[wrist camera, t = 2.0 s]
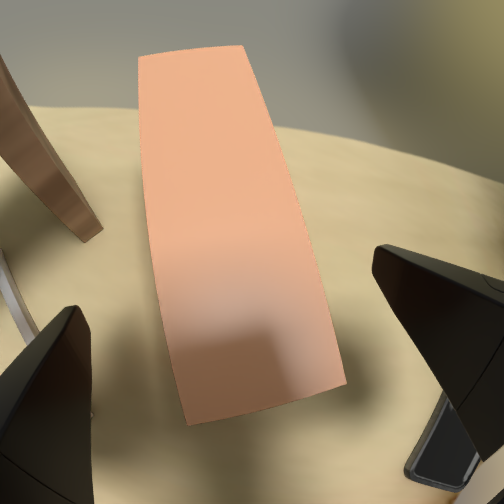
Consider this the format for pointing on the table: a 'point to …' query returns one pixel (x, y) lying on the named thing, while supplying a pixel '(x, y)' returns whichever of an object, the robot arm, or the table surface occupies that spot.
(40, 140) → the walnut bridge
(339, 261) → the table surface
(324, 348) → the terracotta panel
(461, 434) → the phone
